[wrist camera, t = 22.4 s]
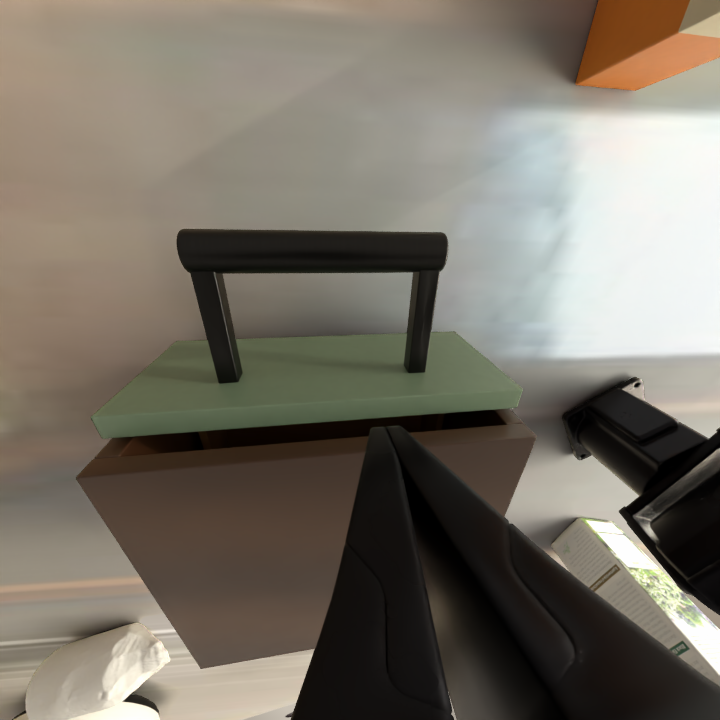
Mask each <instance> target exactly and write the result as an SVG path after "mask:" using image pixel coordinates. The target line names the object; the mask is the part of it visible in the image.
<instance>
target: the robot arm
mask: <svg viewBox="0 0 720 720" xmlns="http://www.w3.org/2000/svg"><path fill="white" fill-rule="evenodd" d="M562 419H563V422H564V425H565V429H566V432H567V435H568V438H569V441H570V445H571V448H572V451H573V454H574V456H575V457H576V458H577V459H578V460H582V459H585V458H587V457H589V456H591V455H593V456H594V457H595V458H596V459H597V460H598V461H600V462H601V463H602V464H603V465H604V466H605V467H607V468H608V469H609V470H610V471H611V472H612V473H613V474H615V475H616V476H617V477H618V478H619V479H620V480H622V481H623V482H624V483H625V484H626V485H627V486H628V487H630V488H631V489H632V490H633V491H634V492H635V493H636V494H638V495H639V497H638V498H637V499H635V500H634V501H633V502H632V503H630V504H629V505H628V506H627V507H623V508H622V509H621V510H619V513H620V514H621V515H622V516H623V518H624V519H625V520H626V521H627V524H628V525H629V527H630V528H631V529H632V530H633V531H634V533H635V534H636V535H637V536H638V538H639V539H640V540H641V541H642V542H643V544H644V545H645V546H646V547H647V548H648V550H649V551H650V552H651V553H652V555H653V556H654V557H655V558H656V559H657V561H658V562H659V563H660V564H661V565H662V567H663V568H664V569H665V570H666V571H667V573H668V574H669V575H670V576H671V578H672V579H673V580H674V581H675V583H676V584H677V586H678V587H679V588H680V589H681V590H682V591H684V592H685V593H687V594H689V595H692V596H694V597H696V598H697V599H698V600H699V601H700V602H702V603H703V604H704V605H706V606H707V607H708V608H710V609H711V610H713V611H714V612H716V613H717V614H719V615H720V428H718V429H717V430H716V431H717V433H715V434H714V435H713V436H712V437H711V438H707V437H705V436H704V435H702V434H700V433H698V432H696V431H695V430H693V429H691V428H689V427H688V426H686V425H684V424H682V423H681V422H679V421H678V420H677V419H675V418H673V417H672V416H670V415H668V414H666V413H665V412H663V411H661V410H659V409H657V408H656V407H654V406H652V405H650V404H649V403H647V402H645V396H644V385H643V380H641V379H639V378H637V377H633V378H631V379H629V380H627V381H625V382H623V383H621V384H620V385H618V386H616V387H614V388H612V389H610V390H608V391H606V392H604V393H602V394H601V395H599V396H597V397H595V398H593V399H591V400H589V401H587V402H585V403H583V404H582V405H580V406H578V407H576V408H574V409H572V410H570V411H568V412H566V413H565V414H564V415H563V417H562ZM448 692H449V693H448ZM449 695H450V698H449ZM450 699H451V702H452V705H453V708H454V712H455V715H456V718H457V720H720V686H719V685H717V684H716V683H714V682H713V681H711V680H710V679H708V678H707V677H705V676H704V675H703V674H701V673H700V672H699V671H697V670H696V669H695V668H693V667H692V666H690V665H689V664H688V663H686V662H685V661H684V660H682V659H681V658H680V657H679V656H677V655H676V654H675V653H673V652H672V651H671V650H669V649H668V648H667V647H666V646H664V645H663V644H662V643H660V642H659V641H658V640H656V639H655V638H654V637H653V636H651V635H650V634H649V633H647V632H646V631H645V630H643V629H642V628H641V627H639V626H638V625H637V624H636V623H634V622H633V621H632V620H630V619H629V618H628V617H626V616H625V615H624V614H623V613H621V612H620V611H619V610H617V609H616V608H615V607H613V606H612V605H611V604H610V603H608V602H607V601H606V600H604V599H603V598H602V597H600V596H599V595H598V594H597V593H595V592H594V591H593V590H591V589H590V588H589V587H588V586H586V585H585V584H584V583H582V582H581V581H580V580H579V579H577V578H576V577H575V576H574V575H572V574H571V573H570V572H569V571H567V570H566V569H565V568H564V567H562V566H561V565H560V564H558V563H557V562H556V561H555V560H554V559H552V558H551V557H550V556H549V555H548V554H547V553H545V552H544V551H543V550H542V549H541V548H540V547H538V546H537V545H536V544H535V543H534V542H532V541H531V540H530V539H529V538H528V537H527V536H526V535H524V534H523V533H522V532H521V531H520V530H519V529H518V528H516V527H515V526H514V525H513V524H509V521H508V520H507V519H506V518H505V517H504V516H503V515H502V514H500V513H499V512H498V511H497V510H496V509H495V508H494V507H492V506H491V505H490V504H489V503H488V502H487V501H486V500H485V499H483V498H482V497H481V496H480V495H479V494H478V493H477V492H475V491H474V490H473V489H472V488H471V487H470V486H469V485H468V484H466V483H465V482H464V481H463V480H462V479H461V478H460V477H458V476H457V475H456V474H455V473H454V472H453V471H452V470H451V469H449V468H448V467H447V466H446V465H445V464H444V463H443V462H441V461H440V460H439V459H438V458H437V457H436V456H435V455H434V454H432V453H431V452H430V451H429V450H428V449H427V448H426V447H424V446H423V445H422V444H421V443H420V442H419V441H418V440H417V439H415V438H414V437H413V436H412V435H411V434H410V433H409V432H407V431H406V430H405V429H404V428H403V427H402V426H388V427H386V428H385V427H373V428H371V429H370V433H369V437H368V442H367V446H366V451H365V455H364V460H363V464H362V469H361V473H360V478H359V482H358V487H357V491H356V496H355V500H354V505H353V509H352V514H351V518H350V523H349V527H348V532H347V536H346V541H345V546H344V549H343V553H342V558H341V562H340V567H339V571H338V575H337V578H336V582H335V586H334V590H333V594H332V598H331V601H330V604H329V607H328V611H327V614H326V617H325V620H324V623H323V626H322V630H321V633H320V636H319V639H318V642H317V645H316V648H315V650H314V653H313V656H312V659H311V662H310V665H309V668H308V671H307V674H306V677H305V679H304V682H303V685H302V688H301V691H300V694H299V697H298V700H297V703H296V706H295V709H294V711H293V714H292V717H291V720H454V718H453V716H452V715H451V713H452V707H451V703H450Z"/></svg>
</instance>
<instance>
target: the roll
mask: <svg viewBox="0 0 720 720" xmlns="http://www.w3.org/2000/svg"><path fill="white" fill-rule="evenodd" d="M169 661H170V658H169V656H168V651H167V650H166V649H165V648H164V646H163V644H162V642H161V641H160V640H158V639H157V638H156V637H154V636H153V634H152V633H151V632H150V631H149V630H148V629H147V628H146V627H145V626H144V625H143V624H140V623H133V624H129V625H125V626H122V627H118V628H116V629H113V630H110V631H107V632H103V633H100V634H97V635H94V636H91V637H87V638H84V639H81V640H78V641H75V642H72V643H69V644H66V645H64V646H62V647H60V648H59V649H57V650H56V651H54V652H53V653H52V654H51V655H50V656H48V657H47V658H46V659H45V660H44V661H43V663H42V664H41V665H40V666H39V668H38V669H37V670H36V672H35V673H34V675H33V677H32V679H31V681H30V683H29V686H28V689H27V694H26V701H25V703H26V713H27V716H28V718H29V720H68V719H71V718H75V717H78V716H82V715H85V714H89V713H94V712H98V711H102V710H104V709H108V708H111V707H113V706H115V705H117V704H119V703H121V702H122V701H123V700H125V699H126V698H127V697H128V696H129V695H130V694H131V693H132V692H134V691H135V690H136V689H138V688H139V687H140V686H141V684H142V683H143V682H145V681H146V680H147V679H148V678H149V677H150V676H151V675H153V674H154V673H156V672H158V671H159V670H160V669H161V668H162V667H163V666H164V665H165V664H167V663H168V662H169Z"/></svg>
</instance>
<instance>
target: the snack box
mask: <svg viewBox="0 0 720 720" xmlns="http://www.w3.org/2000/svg"><path fill="white" fill-rule="evenodd" d="M719 57H720V0H598V4H597V7H596V11H595V15H594V18H593V22H592V25H591V29H590V32H589V36H588V40H587V43H586V47H585V50H584V54H583V58H582V61H581V65H580V68H579V72H578V75H577V79H576V83H575V84H576V85H582V86H592V87H603V88H614V89H625V90H635V91H636V90H638V89H641V88H643V87H646V86H648V85H651V84H653V83H656V82H658V81H661V80H664V79H666V78H669V77H671V76H674V75H676V74H679V73H681V72H684V71H686V70H689V69H691V68H694V67H696V66H699V65H701V64H704V63H706V62H709V61H712V60H714V59H717V58H719Z"/></svg>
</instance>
